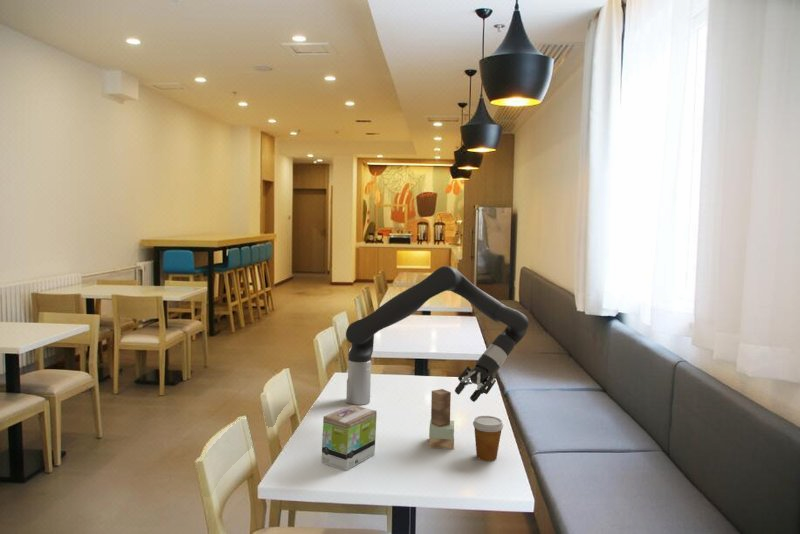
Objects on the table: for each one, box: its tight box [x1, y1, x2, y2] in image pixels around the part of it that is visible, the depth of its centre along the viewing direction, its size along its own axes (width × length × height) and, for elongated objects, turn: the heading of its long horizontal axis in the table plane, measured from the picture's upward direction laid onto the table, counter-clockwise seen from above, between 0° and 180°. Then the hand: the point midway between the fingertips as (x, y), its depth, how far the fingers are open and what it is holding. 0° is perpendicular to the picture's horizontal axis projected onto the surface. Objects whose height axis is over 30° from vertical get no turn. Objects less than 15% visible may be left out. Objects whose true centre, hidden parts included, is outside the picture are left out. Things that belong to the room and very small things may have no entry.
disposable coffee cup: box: [472, 415, 504, 462], centre depth 183 cm, size 10×10×12 cm
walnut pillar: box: [430, 388, 452, 427], centre depth 192 cm, size 4×4×11 cm
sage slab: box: [428, 419, 455, 441], centre depth 193 cm, size 8×8×4 cm
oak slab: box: [429, 438, 455, 450], centre depth 193 cm, size 8×8×4 cm
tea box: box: [320, 404, 378, 472], centre depth 178 cm, size 15×10×15 cm, turn 148°
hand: (464, 396), depth 198 cm, fingers open, 8 cm apart
